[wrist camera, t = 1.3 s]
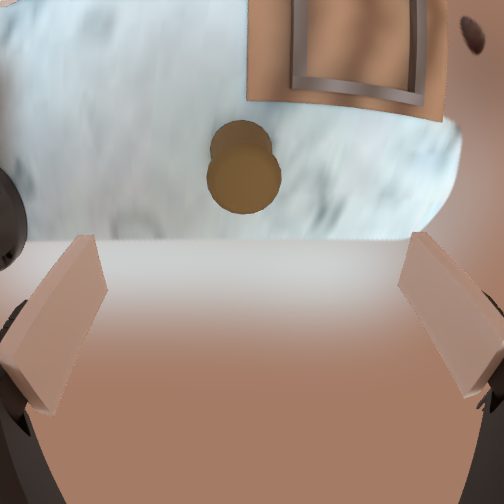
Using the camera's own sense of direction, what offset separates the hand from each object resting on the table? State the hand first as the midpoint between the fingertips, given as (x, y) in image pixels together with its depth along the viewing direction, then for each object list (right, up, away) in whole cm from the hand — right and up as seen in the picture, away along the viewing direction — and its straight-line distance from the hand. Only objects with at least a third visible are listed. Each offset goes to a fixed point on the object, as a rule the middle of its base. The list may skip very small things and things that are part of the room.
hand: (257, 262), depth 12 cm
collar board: (+10, +22, +11) cm, 26 cm away
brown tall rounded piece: (-1, +10, +18) cm, 21 cm away
